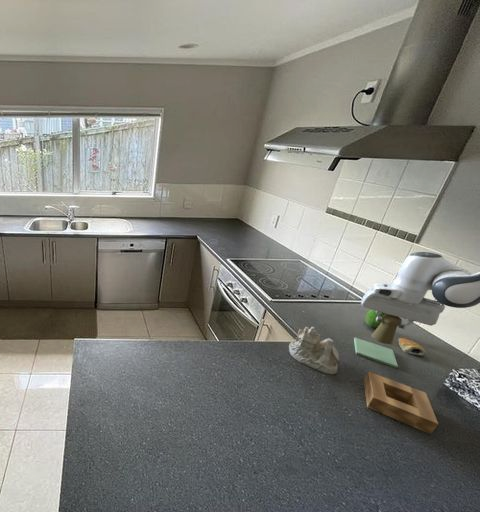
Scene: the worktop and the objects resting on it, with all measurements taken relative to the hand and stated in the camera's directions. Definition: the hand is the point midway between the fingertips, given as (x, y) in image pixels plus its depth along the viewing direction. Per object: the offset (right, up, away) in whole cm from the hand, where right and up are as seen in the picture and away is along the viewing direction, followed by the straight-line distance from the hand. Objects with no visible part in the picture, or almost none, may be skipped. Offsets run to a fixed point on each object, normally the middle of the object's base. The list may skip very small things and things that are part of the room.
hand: (389, 324), depth 108 cm
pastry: (+17, -13, +8) cm, 23 cm away
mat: (-1, -13, +5) cm, 14 cm away
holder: (-17, -22, -18) cm, 33 cm away
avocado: (+16, -7, +22) cm, 28 cm away
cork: (0, -7, +3) cm, 7 cm away
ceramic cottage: (-29, -13, +2) cm, 32 cm away
